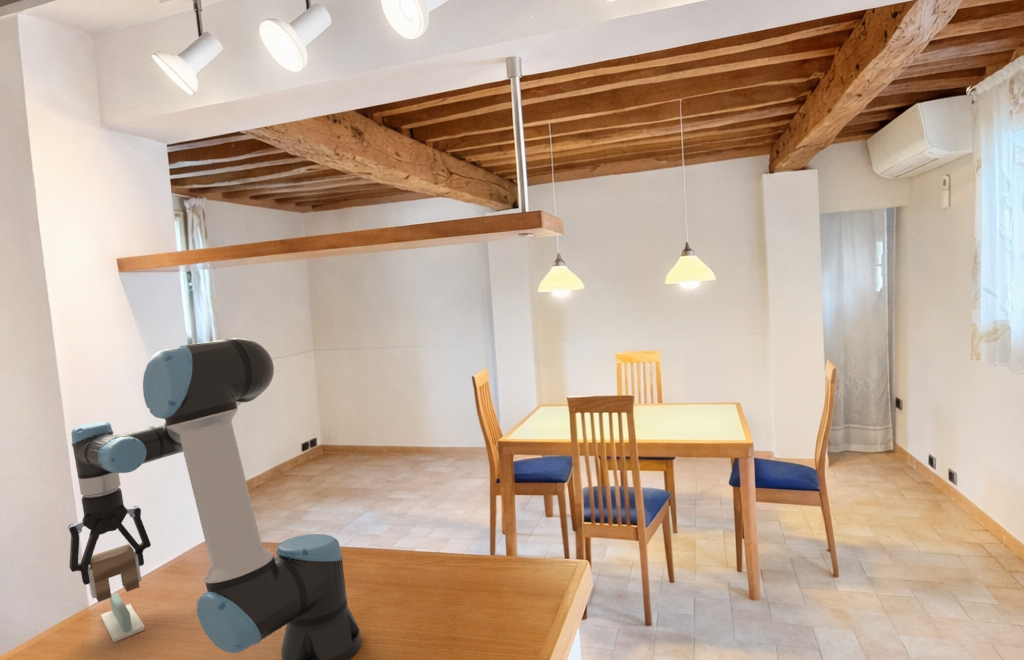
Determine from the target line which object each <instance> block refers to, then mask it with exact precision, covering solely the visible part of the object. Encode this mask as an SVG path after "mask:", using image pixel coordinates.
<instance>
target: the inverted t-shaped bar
mask: <svg viewBox="0 0 1024 660" xmlns="http://www.w3.org/2000/svg"><path fill="white" fill-rule="evenodd" d="M109 600H110V606H111V610H110V611H107V612H104V613H102V614H100V619H101V621H102V623H103V624H104V626H105V629H106V630H107V632H108V634H109V635H110V638H111V641H112V642H113V643H116V642H117V641H120V640H123V639H125V638H127V637H130V636H132V635H134V634H137V633H140V632H143V631H145V630H146V628H145V625H144V623H143V621H142V620H141V619H140V617H139V616H138V613H136V611H135V609H134V608H133V606H132V605H131V603H128V604H126V605H125V603H124V601H123V600H122V598H121V597H120V595H119V594H118V592H115V593H111V598H109Z"/></svg>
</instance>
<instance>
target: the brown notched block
mask: <svg viewBox="0 0 1024 660" xmlns="http://www.w3.org/2000/svg"><path fill="white" fill-rule="evenodd" d="M134 551H135V549H134V548H133V547H132V546H131V545H130V543H127V544H125V545H122V546H118V547H115V548H112V549H109V550H104V551H102V552H99V553H95V554H93V555H92V558H91V561H90V564H89V566H91V568H92V570H93V576H94V582H95V589H96V595H97V597H96V598H95V599H96V600H97V602H98V603H100V602H103V601H106V600H108V599H110V598H111V594H112V592H111V586H110V585H111V584H110V580H109V579H110V578H114V577H116V576H119V575H120V579H121V585H122V587H123V588H124V590H125V591H126V592H130V591H133V590H135V589H138V588H140V582H139V581H138V574H137V568H136V562H135V555H134Z"/></svg>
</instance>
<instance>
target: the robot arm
mask: <svg viewBox="0 0 1024 660" xmlns="http://www.w3.org/2000/svg"><path fill="white" fill-rule="evenodd" d="M274 366H275V365H274V362H273V359H272V357H271V355H270V354H269V352H268V351H267V349H265V348H264V346H262V345H261V344H260V343H257V342H256V341H253V340H251V339H247V338H242V337H241V338H240V337H233V338H226V339H221V340H213V341H205V342H200V343H199V342H198V343H191V344H183V345H177V346H174V347H170V348H166V349H161V350H160V351H157V352H155V354H153V355H152V356H150V359H149V360H148V361H147V364H146V367H145V370H144V371H143V372H144V374H143V378H142V391H143V398H144V403H145V406H146V408H148V409H149V413H150V414H151V415H152V416H153V417H155V418H157V419H161V420H165V422H163V423H160V424H156V425H152V426H148V427H144V428H141V429H137V430H133V431H129V432H124V433H121V434H114V430H113V429H112V425H111V423H110V422H108V421H97V422H96V421H95V422H90V423H86V424H81V425H78V426H75V427H74V428H73V429H72V430H71V434H70V435H71V447H72V449H73V451H72V452H73V455H74V460H75V461H74V462H75V466H76V473H77V479H78V485H79V491H80V495H81V496H82V497H81V504H82V510H83V518H82V521H81V520H80V521H79V522H77V523H75V524H74V523H70V524H69V525H68V526H67V527H68V531H69V532H70V533H69V534H70V549H69V550H70V551H69V569H70V571H71V572H80V573H81V581H82V582H83V585H84V586H86V585H89V591H90V592H89V593H90V596H91V597H92V599H96V597H97V595H96V589H95V582H94V576H93V570H92V568H91V566H90V565H89V564H90V561H91V558H92V555H94V551H95V548H96V546H97V545H96V544H97V542H98V541H99V537H100V535H104V534H107V533H108V532H113V531H117V530H118V531H119V532H120V533H121V535H122V536H123V537H124V539H125V540H126V541H127V543H128V544H129V545H130V546H131V547H132V548H133V550H134V555H135V562H136V568H137V574H138V581H139V583H140V582H142V575H141V570H140V569H141V568H140V567H141V566H144V564H145V560H144V554H143V553H144V551H145V550H147V548H150V547H151V545H152V544H151V542H150V538H149V536H148V533H147V531H146V529H145V526H144V523H143V521H142V509H141V508H140V506H138V505H134V506H133V507H128V508H126V507H125V504H124V499H123V491H122V488H120V486H121V480H120V478H121V477H120V475H119V474H128V473H131V472H134V471H136V470H137V469H138V468H140V467H141V466H142V465H144V464H147V463H149V462H153V461H156V460H160V459H163V458H166V457H167V458H168V457H170V456H173V455H176V454H177V455H178V454H180V453H183V455H184V460H185V465H186V467H187V472H188V477H189V480H190V484H191V488H192V492H193V493H192V494H193V497H194V500H195V505H196V509H197V513H198V518H199V521H200V524H201V530H202V533H203V538H204V540H205V545H206V549H207V554H208V557H209V561H210V565H211V566H210V568H209V571H208V572H207V573H206V575H205V577H204V584H205V587H206V592H204V593H202V595H201V596H200V597H199V598H198V600H197V602H196V605H197V606H196V614H197V618H198V622H199V623H200V626H201V628H202V630H203V631H204V634H205V635H206V636H207V638H208V639H209V640H210V641H211V642H212V643H213V644H214V646H216V647H217V648H218V649H220V650H221V651H223V652H226V653H227V654H228V653H229V654H238V653H241V652H242V651H244V650H246V649H248V648H250V647H252V646H254V645H255V646H256V645H257V644H259V643H260V642H261V641H262V640H264V639H266V638H267V637H269V636H270V635H272V634H273V633H275V632H277V631H278V630H281V628H283V627H284V626H285V631H284V634H283V639H282V644H281V649H280V650H281V652H280V653H281V660H350V659H352V658H353V657H354V656H355V655H356V654H357V653H358V651H359V649H360V648H361V644H362V637H361V630H360V627H359V625H358V623H357V621H356V619H355V618H354V615H353V614H352V611H351V610H350V607H349V604H348V599H347V591H346V584H345V583H346V582H345V574H344V566H343V565H344V564H343V560H344V558H343V555H342V552H341V551H342V550H341V546H340V543H339V540H338V539H337V538H335V537H334V536H332V535H328V534H324V533H323V534H322V533H310V534H308V533H307V534H301V535H296V536H292V537H290V538H287V539H285V540H283V541H281V542H280V543H279V544H278V545H277V547H276V551H275V552H276V554H277V556H276V557H275V555H274V553H273V552H271V551H269V550H267V549H265V548H264V547H263V544H262V540H261V536H260V533H259V528H258V523H257V520H256V515H255V512H254V509H253V508H254V507H253V503H252V499H251V496H250V492H249V488H248V487H249V486H248V484H247V483H248V482H247V479H246V475H245V471H244V466H243V463H242V459H241V455H240V451H239V447H238V443H237V439H236V435H235V432H234V427H233V423H232V420H233V418H234V417H235V415H236V414H237V413H238V410H239V409H238V407H239V406H240V405H241V404H243V403H249V402H251V401H254V400H255V399H256V398H258V396H260V395H262V393H263V392H265V391H266V390H267V389H268V387H269V386H270V384H271V382H272V380H273V378H274V374H275V373H274V372H275V367H274ZM127 514H128V515H129V517H130V518H132V520H133V522H134V525H135V528H136V530H137V533H138V535H139V536H138V537H140V540H141V543H138V542H137V540H136V539H135V537H133V536H132V534H131V533H130V531H129V530H128V529H126V527H125V526H124V525H123V522H124V520H125V518H126V516H127ZM83 527H85V528H87V529H88V530H90V531H89V536H88V538H87V543H86V546H85V548H84V551H83V554H82V557H81V559H80V561H81V562H79V554H80V551H79V550H80V534H81V533H82V531H83Z"/></svg>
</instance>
